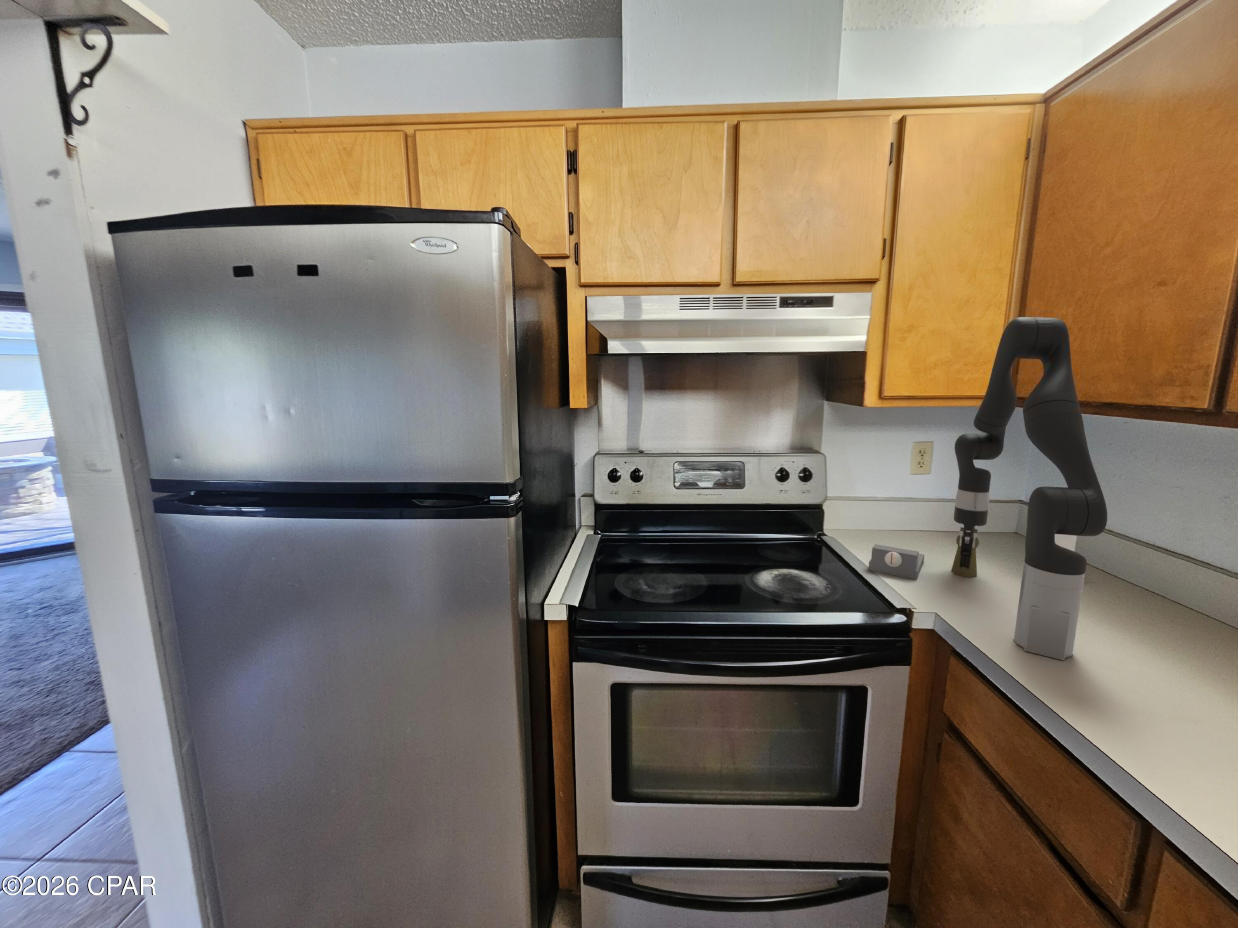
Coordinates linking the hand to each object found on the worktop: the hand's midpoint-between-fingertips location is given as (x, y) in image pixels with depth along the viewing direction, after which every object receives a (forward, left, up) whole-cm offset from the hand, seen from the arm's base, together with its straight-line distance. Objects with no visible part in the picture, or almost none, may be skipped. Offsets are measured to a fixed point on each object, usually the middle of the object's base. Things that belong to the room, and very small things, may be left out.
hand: (964, 565), depth 140 cm
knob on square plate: (-5, +16, -2) cm, 17 cm away
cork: (0, 0, -2) cm, 2 cm away
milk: (+18, -20, -3) cm, 27 cm away
